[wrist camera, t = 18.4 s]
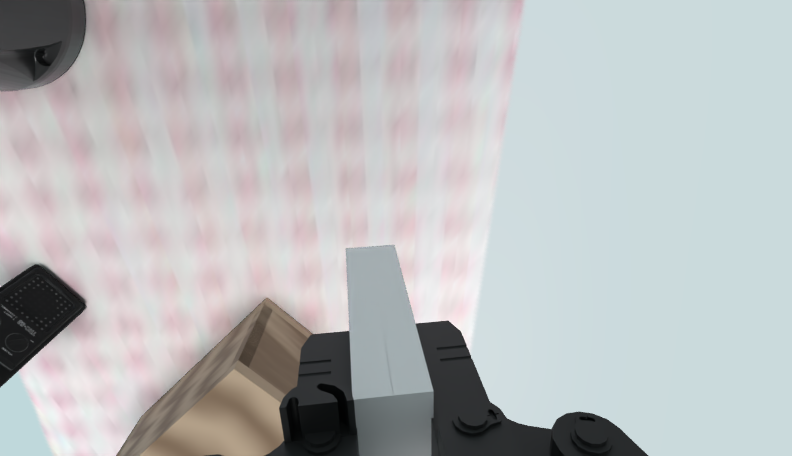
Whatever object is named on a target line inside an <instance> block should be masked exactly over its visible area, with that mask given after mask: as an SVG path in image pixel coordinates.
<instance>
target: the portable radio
mask: <svg viewBox="0 0 792 456" xmlns="http://www.w3.org/2000/svg"><path fill="white" fill-rule="evenodd" d="M84 309H85V305H84V304H83V303H82V302H81V301H80V300H79V299H78V298H76V297H75V296H74V295H73V294H72V293H70V292H69V291H68V290H67V289H66V288H65V287H63V286H62V285H61V284H60V283H59V282H58V281H56V280H55V279H54V278H53V277H52V276H51V275H49V274H48V273H47V272H46V271H45V270H44V269H42V268H41V267H40V266H38V265H34V266H32V267H30V268H28V269H27V270H25V271H24V272H22V273H21V274H19V275H18V276H16V277H15V278H13V279H12V280H11V281H9V282H8V283H6V284H5V285H3V286H2V287H0V387H1V386H2V385H3V384H4V383H6V382H7V381H8V380H9V379H10V378H11V377H12V376H13V375H14V374H15V373H16V372H18V371H19V370H20V369H21V368H22V367H23V366H24V365H25V364H26V363H27V362H28V361H29V360H31V359H32V358H33V357H34V356H35V355H36V354H37V353H38V352H39V351H40V350H41V349H43V348H44V347H45V346H46V345H47V344H48V343H49V342H50V341H51V340H52V339H53V338H55V337H56V336H57V335H58V334H59V333H60V332H61V331H62V330H63V329H64V328H65V327H67V326H68V325H69V324H70V323H71V322H72V321H73V320H74V319H75V318H76V317H78V316H79V315H80V314H81V313H82V312H83V311H84Z"/></svg>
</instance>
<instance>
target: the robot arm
mask: <svg viewBox="0 0 792 456" xmlns="http://www.w3.org/2000/svg"><path fill="white" fill-rule="evenodd" d="M84 31H85V10H84V3H83V0H0V91H17V90H23V89H29V88H35V87H39V86H43V85H45V84H48V83H50V82H52V81H54V80H55V79H57V78H58V77H60V76H61V75H62V74H63V73H65V72H66V71H67V70H68V68H69V67H70V66H71V65H72V63H73V62H74V60H75V59H76V57H77V55H78V53H79V51H80V48H81V45H82V42H83V37H84ZM346 263H347V286H348V309H349V331H345V332H334V333H323V334H312V335H310V336H309V338H308V339H307V341H306V342H305V343H304V345H303V346H302V347H301V354H300V365H299V372H298V381H297V387H295V388H293V389H291V390H290V391H289V392H288V393H287V394H286V395H285V396H284V397H283V400H282V402H281V404H280V407H279V411H280V418H281V424H282V430H283V436H284V441H283V442H282V443H281V445H280V446H279V447H277V448H276V449H274V450H273V451H272V452H270V453H269V454H267V455H265V456H648V455H647V454H646V453H645V452H644V451H643V450H642V449H641V448H639V447H638V446H637V445H636V444H635V443H634V442H633V441H632V440H631V439H630V438H629V437H628V436H627V435H626V434H625V433H624V432H623V431H622V430H621V429H620V428H618V427H617V426H615V425H614V424H613V423H611V422H610V421H609V420H607V419H605V418H602V417H600V416H597V415H595V414H591V413H584V412H574V413H567V414H565V415H563V416H561V417H560V418H558V419H557V420H556V422H555V424H554V425H553V427H552V429H546V428H539V427H533V426H527V425H522V424H518V423H516V422H514V421H511V420H509V419H507V418H506V417H505V415H504V414H503V412H502V411H501V410H500V409H499V408H498V407H497V406H495V405H494V404H492V403H490V401H489V399H488V397H487V394H486V392H485V389H484V387H483V385H482V382H481V380H480V377H479V375H478V372H477V370H476V367H475V365H474V362H473V360H472V359H471V355H470V353H469V350H468V348H467V347H466V343H465V341H464V338H463V336H462V333H461V331H460V330H458V329H457V328H456V327H455V326H454V325H453V324H451V323H450V322H449V321H440V322H429V323H418V324H415V320H414V316H413V313H412V309H411V305H410V301H409V298H408V294H407V290H406V287H405V283H404V279H403V275H402V272H401V268H400V264H399V260H398V257H397V253H396V249H395V245H386V246H372V247H359V248H346ZM205 456H223V455H220V454H217V455H205Z"/></svg>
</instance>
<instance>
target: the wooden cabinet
mask: <svg viewBox="0 0 792 456" xmlns="http://www.w3.org/2000/svg"><path fill="white" fill-rule="evenodd" d="M310 335H312V333H311V332H309V331H308V330H307V329H306V328H304V327H303V326H302V325H301V324H299V323H298V322H297V321H296V320H294V319H293V318H292V317H291V316H289V315H288V314H287V313H286V312H284V311H283V310H282V309H281V308H279V307H278V306H277V305H276V304H274V303H273V302H272V301H271V300H269V299H268V298H266V299H265V300H264V301H263V302H262V303H261V304H260V305H259V306H258V307H256V308H255V309H254V310H253V311H252V312H251V313H250V314H249V315H248V316H247V317H246V318H245V319H244V320H243V321H242V322H241V323H240V324H239V325H237V326H236V327H235V328H234V329H233V330H232V331H231V332H230V333H229V334H228V335H227V336H226V337H225V338H224V339H223V340H222V341H221V342H220V343H218V344H217V345H216V346H215V347H214V348H213V349H212V350H211V351H210V352H209V353H208V354H207V355H206V356H205V357H204V358H203V359H202V360H201V361H199V362H198V363H197V364H196V365H195V366H194V367H193V368H192V369H191V370H190V371H189V372H188V373H187V374H186V375H185V376H184V377H183V378H182V379H180V380H179V381H178V382H177V383H176V384H175V385H174V386H173V387H172V388H171V389H170V390H169V391H168V392H167V393H166V394H165V395H164V396H163V397H161V398H160V399H159V400H158V401H157V402H156V403H155V404H154V405H153V406H152V407H151V408H150V409H149V410H148V411H147V412H146V413H145V414H144V415H142V416H141V418H140V419H139V421H138V422H137V424H136V426H135V427H134V429H133V430H132V432H131V433H130V435H129V436H128V438H127V440H126V441H125V443H124V444H123V446H122V447H121V449H120V450H119V452H118V454H117V455H116V456H205V455H217V454H220V455H223V456H265V455H267V454H269V453H270V452H272V451H273V450H274V449H276V448H277V447H279V446H280V445H281V443H282V442H283V441H284V436H283V430H282V424H281V418H280V411H279V407H280V404H281V402H282V400H283V397H284V396H285V395H286V394H287V393H288V392H289V391H290V390H291V389H293V388H295V387H297V381H298V372H299V365H300V354H301V347H302V346H303V345H304V343H305V342H306V341H307V339H308V338H309V336H310Z"/></svg>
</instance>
